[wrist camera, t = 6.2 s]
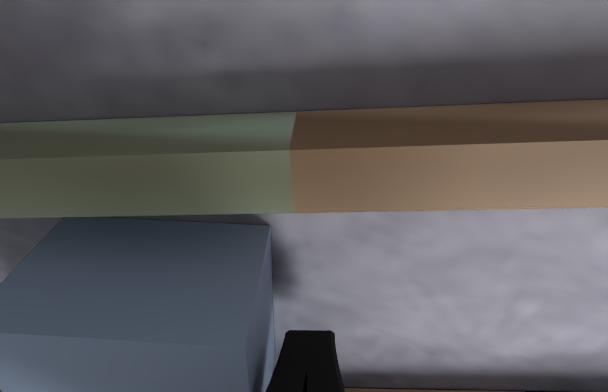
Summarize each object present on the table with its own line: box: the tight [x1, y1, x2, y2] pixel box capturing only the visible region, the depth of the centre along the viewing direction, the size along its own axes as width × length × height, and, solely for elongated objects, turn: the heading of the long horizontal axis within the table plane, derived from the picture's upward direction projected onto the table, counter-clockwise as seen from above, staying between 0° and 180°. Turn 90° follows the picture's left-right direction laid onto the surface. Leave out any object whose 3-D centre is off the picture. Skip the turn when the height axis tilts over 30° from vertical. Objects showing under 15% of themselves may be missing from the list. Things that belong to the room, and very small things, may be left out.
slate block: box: [0, 217, 275, 392], centre depth 11 cm, size 6×6×4 cm
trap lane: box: [0, 99, 608, 392], centre depth 12 cm, size 13×28×2 cm, turn 94°
